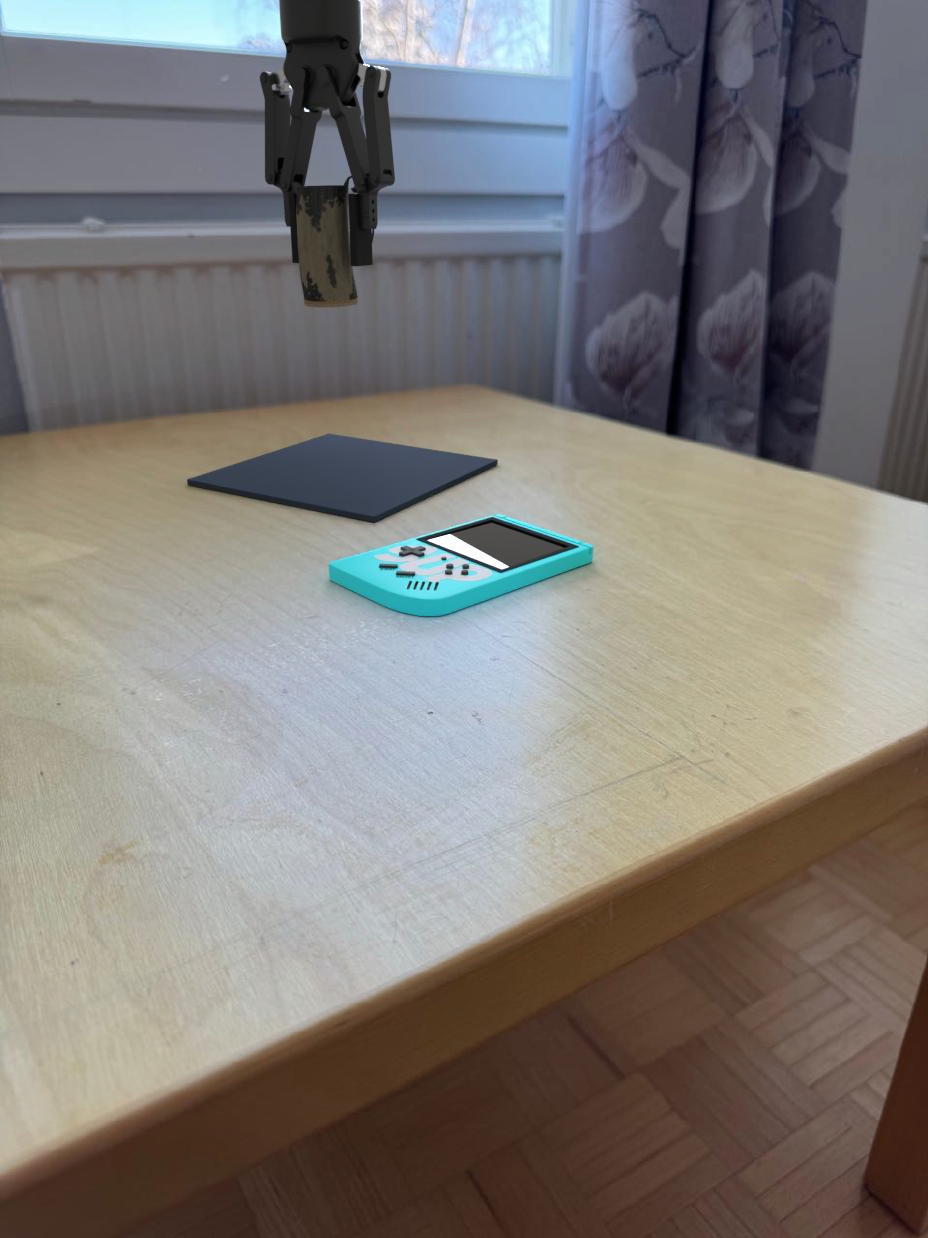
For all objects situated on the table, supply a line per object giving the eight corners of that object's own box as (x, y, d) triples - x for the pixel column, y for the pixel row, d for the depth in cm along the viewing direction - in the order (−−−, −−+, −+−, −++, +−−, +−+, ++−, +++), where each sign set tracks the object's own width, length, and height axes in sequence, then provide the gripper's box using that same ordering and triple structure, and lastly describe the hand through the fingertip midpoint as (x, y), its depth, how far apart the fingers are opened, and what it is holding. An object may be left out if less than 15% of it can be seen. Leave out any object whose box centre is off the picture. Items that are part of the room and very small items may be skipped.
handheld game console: (324, 577, 64) (323, 558, 64) (496, 526, 74) (496, 509, 74) (421, 624, 58) (420, 603, 57) (596, 560, 67) (597, 542, 67)
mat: (187, 484, 84) (186, 479, 84) (328, 437, 100) (328, 433, 100) (374, 522, 75) (374, 516, 75) (497, 464, 91) (497, 459, 90)
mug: (301, 308, 96) (290, 175, 91) (303, 301, 101) (292, 175, 96) (381, 305, 97) (374, 173, 92) (379, 298, 102) (372, 173, 97)
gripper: (433, -8, 86) (434, 265, 96) (264, 8, 95) (280, 257, 104) (386, -23, 80) (392, 270, 90) (210, -4, 89) (233, 261, 98)
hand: (332, 263), depth 97 cm, fingers open, 6 cm apart
